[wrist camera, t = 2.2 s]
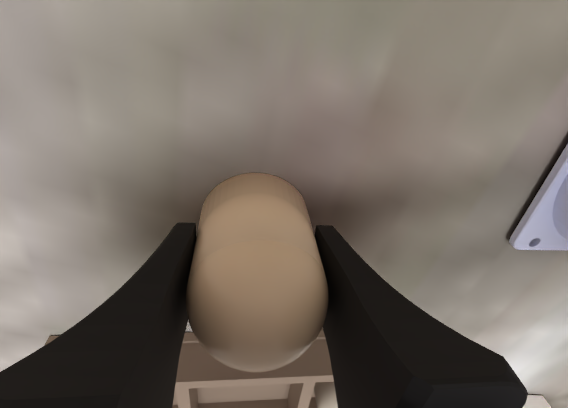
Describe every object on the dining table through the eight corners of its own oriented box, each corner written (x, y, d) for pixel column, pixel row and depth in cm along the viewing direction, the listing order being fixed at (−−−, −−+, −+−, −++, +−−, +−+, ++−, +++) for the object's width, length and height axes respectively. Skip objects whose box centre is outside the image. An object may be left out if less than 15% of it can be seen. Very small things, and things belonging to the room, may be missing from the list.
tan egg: (314, 175, 13) (362, 302, 8) (299, 259, 15) (328, 398, 10) (198, 170, 12) (165, 304, 7) (202, 258, 15) (180, 406, 9)
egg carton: (417, 326, 19) (438, 368, 17) (384, 391, 23) (398, 431, 21) (49, 335, 16) (21, 387, 14) (83, 407, 20) (64, 456, 18)
